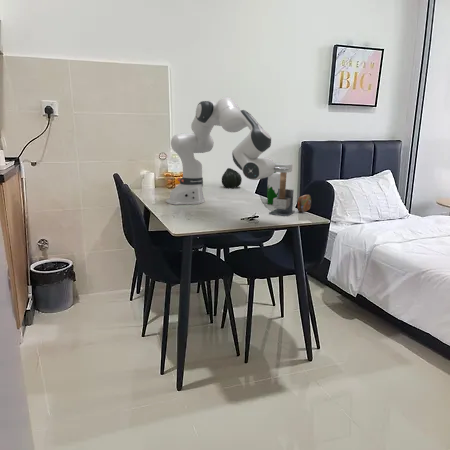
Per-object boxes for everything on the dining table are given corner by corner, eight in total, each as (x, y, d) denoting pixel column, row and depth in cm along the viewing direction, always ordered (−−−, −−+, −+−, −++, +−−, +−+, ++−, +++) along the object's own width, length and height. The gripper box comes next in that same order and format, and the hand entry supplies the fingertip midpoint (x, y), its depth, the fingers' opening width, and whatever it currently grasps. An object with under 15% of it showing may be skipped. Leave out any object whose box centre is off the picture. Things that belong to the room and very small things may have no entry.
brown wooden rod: (280, 206, 206) (282, 171, 202) (277, 205, 209) (279, 170, 205) (285, 206, 208) (287, 171, 203) (282, 205, 210) (284, 170, 206)
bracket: (287, 216, 203) (289, 192, 200) (269, 214, 207) (270, 190, 205) (295, 212, 214) (296, 189, 211) (277, 210, 218) (278, 188, 215)
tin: (301, 213, 211) (302, 197, 209) (295, 212, 213) (296, 196, 211) (311, 209, 224) (312, 193, 222) (306, 208, 225) (307, 193, 223)
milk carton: (267, 201, 243) (269, 168, 238) (282, 202, 241) (284, 168, 236) (266, 204, 234) (267, 169, 230) (281, 205, 232) (283, 170, 228)
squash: (248, 180, 296) (237, 164, 299) (236, 183, 284) (225, 166, 287) (236, 191, 305) (226, 175, 308) (224, 194, 293) (213, 178, 296)
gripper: (287, 162, 176) (297, 160, 188) (244, 158, 184) (256, 156, 196) (286, 176, 177) (296, 173, 189) (243, 172, 186) (255, 169, 198)
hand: (275, 165), depth 193 cm, fingers open, 8 cm apart
